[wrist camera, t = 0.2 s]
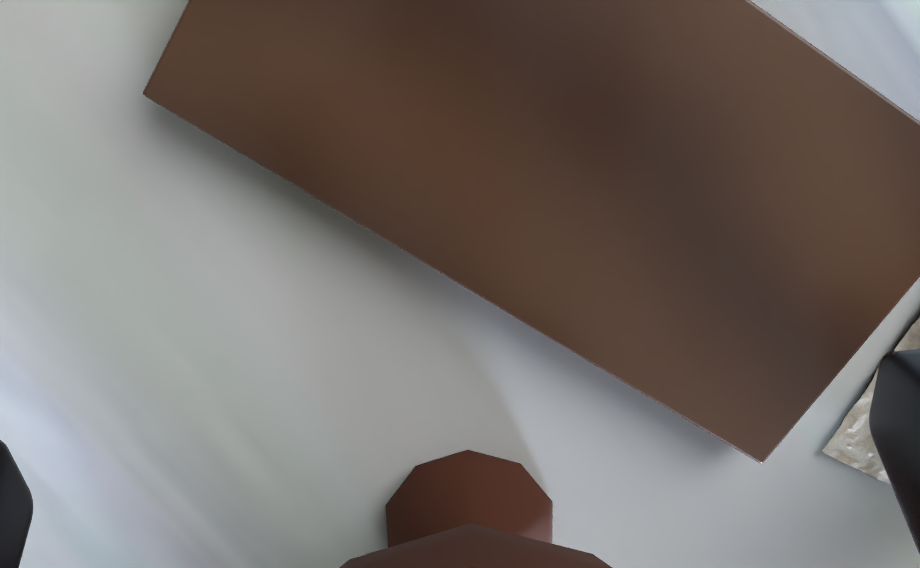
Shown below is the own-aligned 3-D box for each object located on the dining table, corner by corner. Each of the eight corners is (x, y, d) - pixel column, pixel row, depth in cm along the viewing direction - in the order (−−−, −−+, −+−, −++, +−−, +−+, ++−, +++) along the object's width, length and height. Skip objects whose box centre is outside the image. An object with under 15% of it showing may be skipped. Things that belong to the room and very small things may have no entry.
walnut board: (745, 440, 26) (762, 465, 24) (160, 89, 22) (140, 94, 21) (968, 169, 23) (1003, 180, 22) (345, -276, 20) (336, -297, 18)
